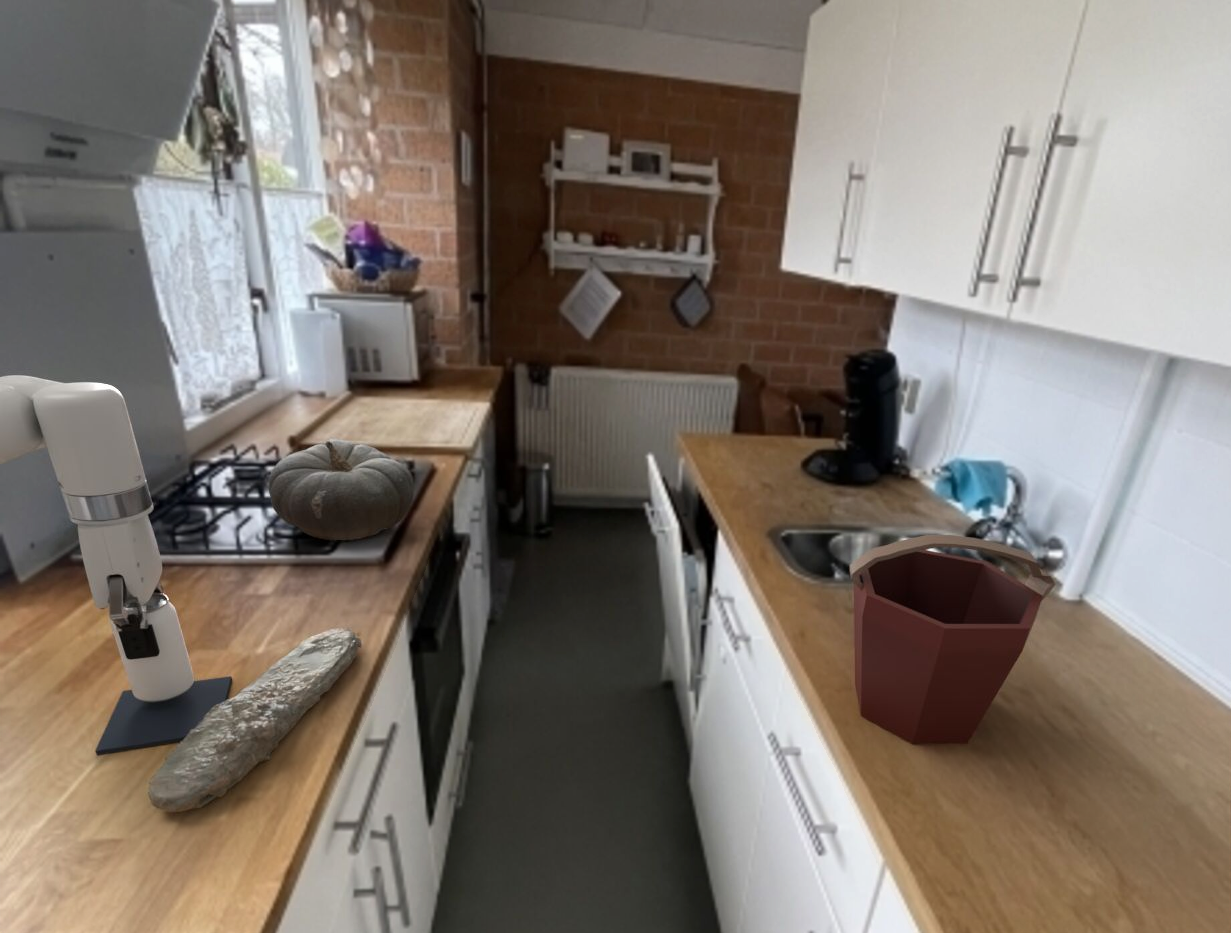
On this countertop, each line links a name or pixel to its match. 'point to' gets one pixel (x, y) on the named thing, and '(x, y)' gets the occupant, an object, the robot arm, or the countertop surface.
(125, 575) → the robot arm
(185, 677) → the can
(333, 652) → the long grey stone
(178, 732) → the mat
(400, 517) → the gourd
